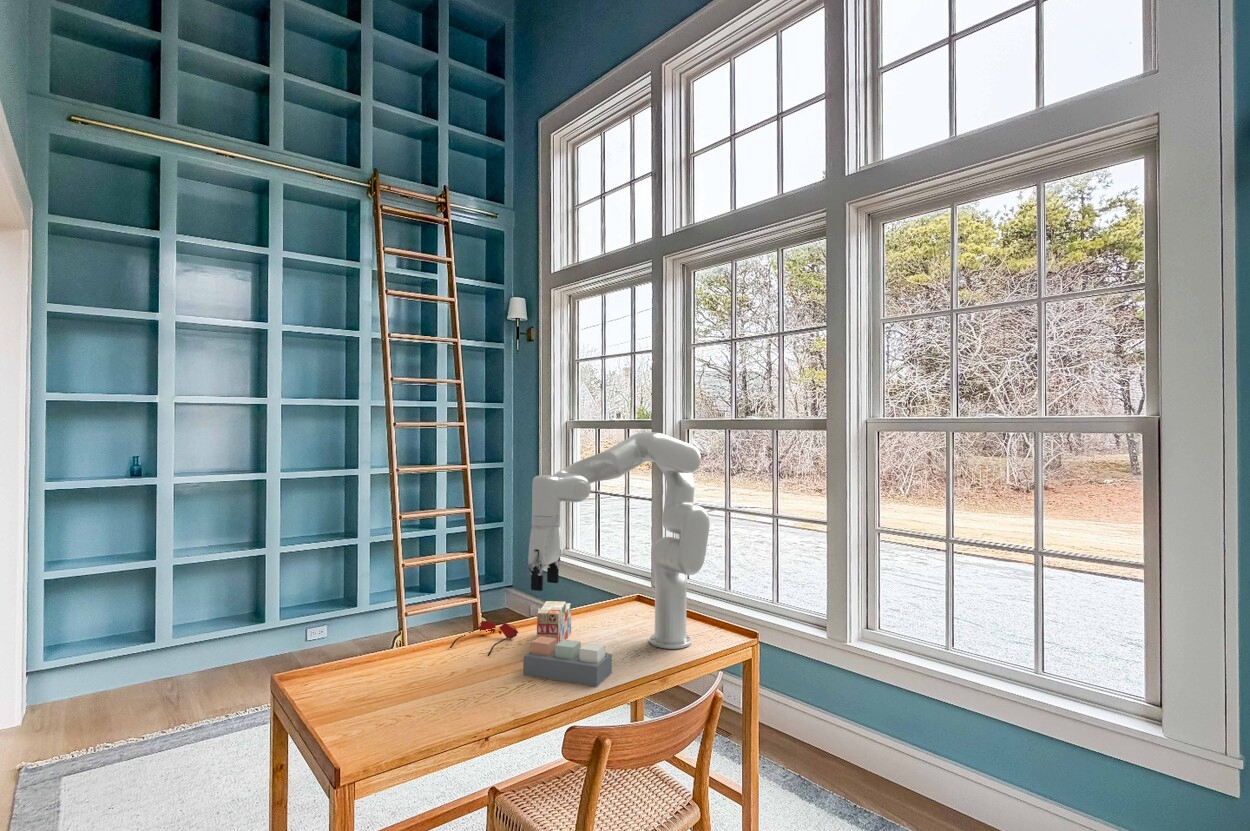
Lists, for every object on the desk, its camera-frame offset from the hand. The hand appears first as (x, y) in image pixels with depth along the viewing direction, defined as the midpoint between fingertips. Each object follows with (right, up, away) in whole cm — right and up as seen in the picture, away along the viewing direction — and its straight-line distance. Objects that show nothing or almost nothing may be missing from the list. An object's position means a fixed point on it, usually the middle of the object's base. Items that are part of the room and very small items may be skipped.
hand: (544, 586), depth 178 cm
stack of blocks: (0, -23, +22) cm, 32 cm away
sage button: (+6, -19, -3) cm, 21 cm away
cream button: (+13, -20, -5) cm, 24 cm away
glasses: (-20, -23, +20) cm, 37 cm away
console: (+6, -22, -3) cm, 24 cm away
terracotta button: (0, -19, 0) cm, 19 cm away
